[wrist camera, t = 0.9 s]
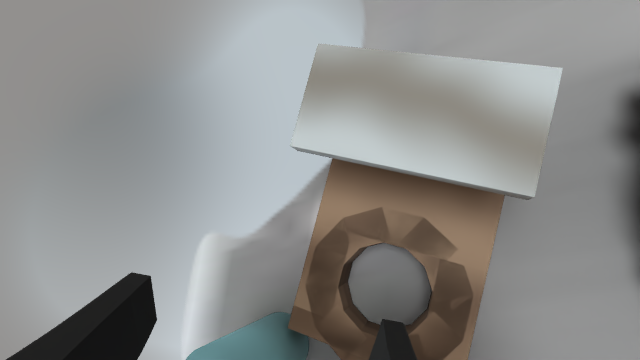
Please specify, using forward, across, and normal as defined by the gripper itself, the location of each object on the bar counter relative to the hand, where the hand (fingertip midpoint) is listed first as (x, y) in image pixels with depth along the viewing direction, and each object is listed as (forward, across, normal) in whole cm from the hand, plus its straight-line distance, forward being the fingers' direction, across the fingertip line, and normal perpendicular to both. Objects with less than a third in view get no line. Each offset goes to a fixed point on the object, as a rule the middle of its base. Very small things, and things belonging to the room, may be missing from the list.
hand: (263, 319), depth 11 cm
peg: (+8, 0, +12) cm, 15 cm away
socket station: (+11, -6, +4) cm, 14 cm away
